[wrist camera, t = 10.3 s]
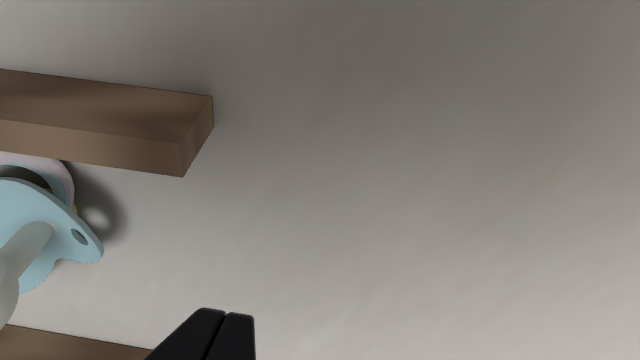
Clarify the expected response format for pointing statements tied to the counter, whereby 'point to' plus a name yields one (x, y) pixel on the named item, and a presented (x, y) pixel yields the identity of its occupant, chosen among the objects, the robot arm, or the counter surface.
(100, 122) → the walnut bay
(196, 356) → the robot arm
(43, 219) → the pacifier
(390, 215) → the counter surface
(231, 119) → the counter surface
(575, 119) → the counter surface
